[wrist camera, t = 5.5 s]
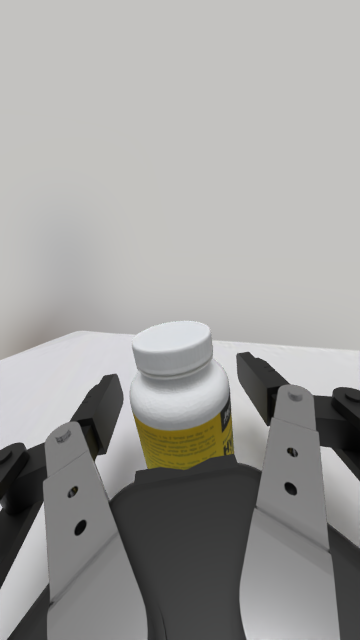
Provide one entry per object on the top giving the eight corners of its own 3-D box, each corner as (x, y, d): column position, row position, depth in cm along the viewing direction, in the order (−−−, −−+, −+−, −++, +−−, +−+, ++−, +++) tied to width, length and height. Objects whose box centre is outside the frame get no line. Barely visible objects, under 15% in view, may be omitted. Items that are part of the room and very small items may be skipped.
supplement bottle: (250, 523, 9) (241, 350, 6) (145, 531, 9) (90, 369, 6) (225, 428, 14) (213, 311, 11) (158, 435, 14) (131, 323, 11)
